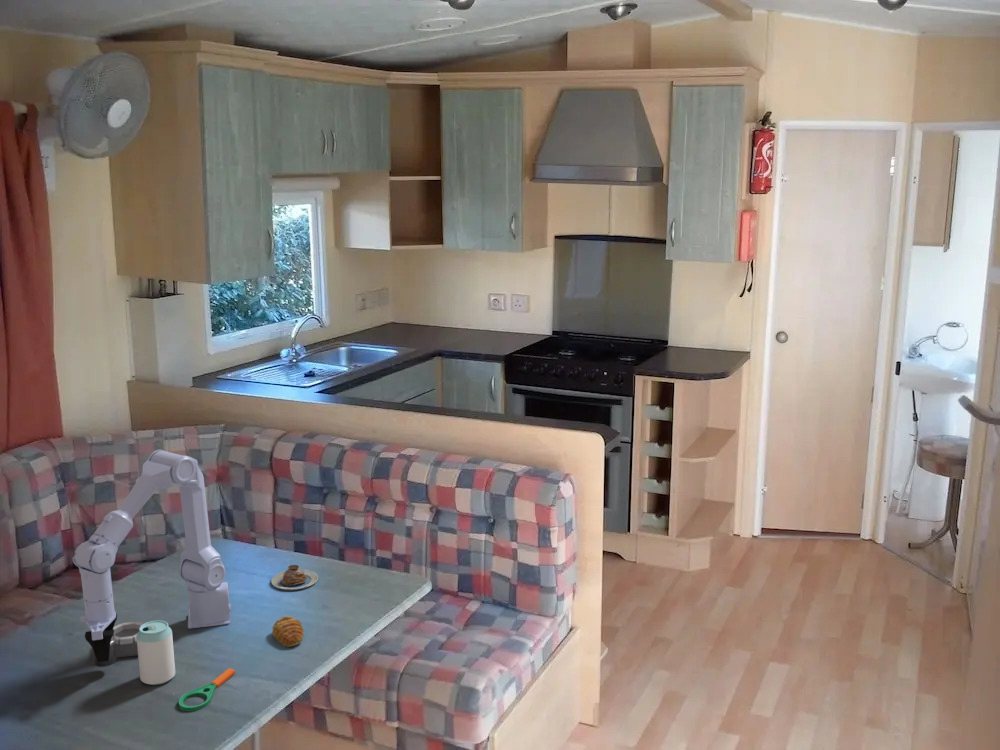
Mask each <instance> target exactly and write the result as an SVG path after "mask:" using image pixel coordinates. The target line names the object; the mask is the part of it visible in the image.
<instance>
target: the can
mask: <svg viewBox="0 0 1000 750" xmlns="http://www.w3.org/2000/svg"><path fill="white" fill-rule="evenodd" d="M173 637H174V636H173V630H172V628H171V627H170V626H169V623H168V622H167V621H165V620H151V621H147V622H145V623H143V625H141V626H140V628H139V632H138V634H137V648H138V655H137V659H138V668H139V680H140V681H141V682H142V683H144V684H146V685H149V686H158V685H163V684H165V683H168V682H169V681H170V680H172V679H173V677H175V676H176V664H175V661H176V660H175V652H174V651H175V650H174V641H173Z"/></svg>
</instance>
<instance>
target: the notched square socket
mask: <svg viewBox="0 0 1000 750" xmlns="http://www.w3.org/2000/svg"><path fill="white" fill-rule="evenodd" d="M143 624H144V622H140V621H129V622H122V623H119V624H117V625H114V627H113V630H114V638H115V651H116V659H117V658H122V657H123V658H125V657H131V656H138V648H137V634H138V632H139V628H140V626H141V625H143Z"/></svg>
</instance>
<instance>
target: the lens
mask: <svg viewBox="0 0 1000 750" xmlns="http://www.w3.org/2000/svg"><path fill="white" fill-rule="evenodd" d="M91 650H92V652H91V653H92V659H93V665H94V666H95V667H96V668H97V667H99V668H104V667H108V666H111V665H113V664H115V663H116V662H117V658H116V651H115V638H114V634H113V637H112V639H111V642H110V654H109V660H108V661H104V662H98V661H97V659H96V656H95V654H94V651H93V649H92V648H91Z"/></svg>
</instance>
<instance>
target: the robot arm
mask: <svg viewBox="0 0 1000 750" xmlns="http://www.w3.org/2000/svg"><path fill="white" fill-rule="evenodd" d="M175 485H176V486H178V487H179V493H180V503H181V504H180V505H181V513H182V519H183V529H184V530H183V531H184V539H185V547H186V549H185V550H183V552H181V553H180V565H179V568H178V573H179V577H180V578H181V579H182V580H184V582H185V583H184V584H185V586H187V599H188V609H189V610H188V618H187V629H188V630H189V629H191V630H192V629H197V628H198V629H199V628H207V627H213V626H223V625H229V624H230V623H231V618H230V617H231V612H232V608H231V607H232V605H231V603H230V598H229V584H228V582H227V581H224V580H225V577H226V567H225V565H224V563H223V562H222V557H221V555H220V553H219V552H218V551H217V550H216V549H215V548H214V547H213V546H212V541H211V531H210V524H209V523H210V522H209V515H208V514H209V512H208V504H207V496H206V488H205V485H206V484H205V478H204V474H203V472H202V471H201V469H200V467H199V463H198V459H197V458H196V459H195V458H193V457H191V456H189V455H184V454H183V455H182V454H178V453H174V452H170V451H167V450H163V449H156V450H154V451H153V452H151V453H150V454H149V456H148V458H147V460H146V461H145V462H144V463H143V464H142V472H141V475H140V476H139V478H138V479H137V481H136V482H135V484H134V485H133V487H132V489H131V490H130V492H129V493H128V494H127V496H126V498H125V499H124V501H123V503H122V504H121V505H120V507H119V508H118V509H115V510H113V511H112V510H111V511H110V512H108V514H106V515H105V516H104V517H103V519H102V522H101V523H100V525H99V526H98V527H97V529H95V531H94V532H93V534H91V536H90V537H89V539H88V540H86V541H84V542H81V543H80V544H79V545H78V546H77V548H76V549H75V551H74V556H73V557H72V562H73V564H74V565H75V566H76V567H78V571H79V574H80V579H81V586H82V597H83V605H84V614H85V615H81V616H80V617H79V623H84V624H86V626H87V627H88V629H89V630H90V631H89V630H88V631H85V634H84V638H85V642H87V643H88V644H89V645H90V647H91V650H92V649H93V651H94V654H95V656H96V659H97V661H98V662H104V661H108V660H109V654H110V642H111V639H112V637H113V634H114V630H113V627H115V623H116V622H117V619H118V614H117V613H116V610H115V603H114V602H115V601H114V595H113V594H114V593H113V583H112V574H111V567H112V566H113V565H114V564H115V562H116V555H117V553H118V549H119V547H120V545H121V544H122V543H123V541H124V540H125V538H126V537H127V536H128V534H129V533H130V532H131V530H132V529H133V527H134V522H133V519H134V517H135V516H136V515H137V514H138V513H139V512H140V510H141V509H142V508H143V507H144V506H145V504H146V503H147V502H148V501H149V499H151V497H152V496H153V495H154V494H155V493H156V492H157V491H159V490H165V489H169V488H173V487H175Z"/></svg>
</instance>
